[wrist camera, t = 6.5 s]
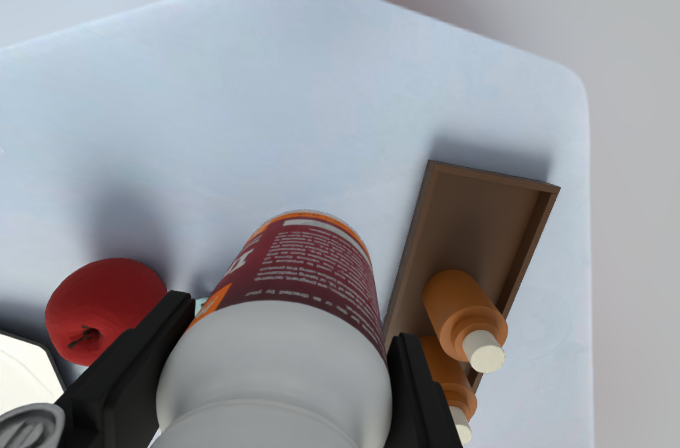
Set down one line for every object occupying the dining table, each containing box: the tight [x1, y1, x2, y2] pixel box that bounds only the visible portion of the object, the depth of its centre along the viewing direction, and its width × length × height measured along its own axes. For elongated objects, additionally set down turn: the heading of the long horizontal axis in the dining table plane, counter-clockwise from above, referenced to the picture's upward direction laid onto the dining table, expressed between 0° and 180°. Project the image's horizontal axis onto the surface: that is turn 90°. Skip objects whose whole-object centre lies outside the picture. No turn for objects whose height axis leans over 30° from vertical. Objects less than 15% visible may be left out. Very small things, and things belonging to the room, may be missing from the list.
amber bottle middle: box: [422, 270, 508, 373], centre depth 29 cm, size 6×6×9 cm
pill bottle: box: [150, 210, 392, 448], centre depth 11 cm, size 6×6×11 cm
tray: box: [382, 160, 561, 395], centre depth 33 cm, size 25×11×2 cm, turn 169°
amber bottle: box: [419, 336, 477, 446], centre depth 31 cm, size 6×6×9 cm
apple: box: [45, 258, 167, 366], centre depth 29 cm, size 9×9×10 cm
